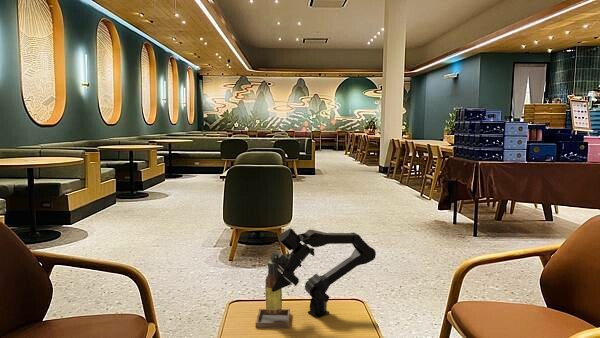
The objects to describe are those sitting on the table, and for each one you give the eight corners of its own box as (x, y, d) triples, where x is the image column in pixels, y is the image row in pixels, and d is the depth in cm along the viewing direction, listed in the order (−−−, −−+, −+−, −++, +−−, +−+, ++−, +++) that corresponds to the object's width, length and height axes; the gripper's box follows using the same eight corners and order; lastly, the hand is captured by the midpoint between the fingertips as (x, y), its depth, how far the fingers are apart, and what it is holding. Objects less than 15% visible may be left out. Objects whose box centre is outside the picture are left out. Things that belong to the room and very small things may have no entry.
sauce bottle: (284, 313, 174) (284, 263, 172) (269, 316, 171) (269, 266, 169) (277, 306, 180) (277, 258, 178) (263, 309, 177) (262, 260, 175)
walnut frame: (259, 313, 182) (259, 309, 182) (290, 313, 182) (290, 309, 182) (255, 327, 170) (255, 322, 170) (288, 328, 170) (288, 323, 170)
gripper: (275, 238, 183) (249, 268, 180) (290, 251, 165) (261, 284, 163) (293, 255, 186) (268, 284, 184) (310, 269, 169) (283, 302, 167)
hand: (269, 288), depth 174 cm, fingers closed on sauce bottle, 6 cm apart
